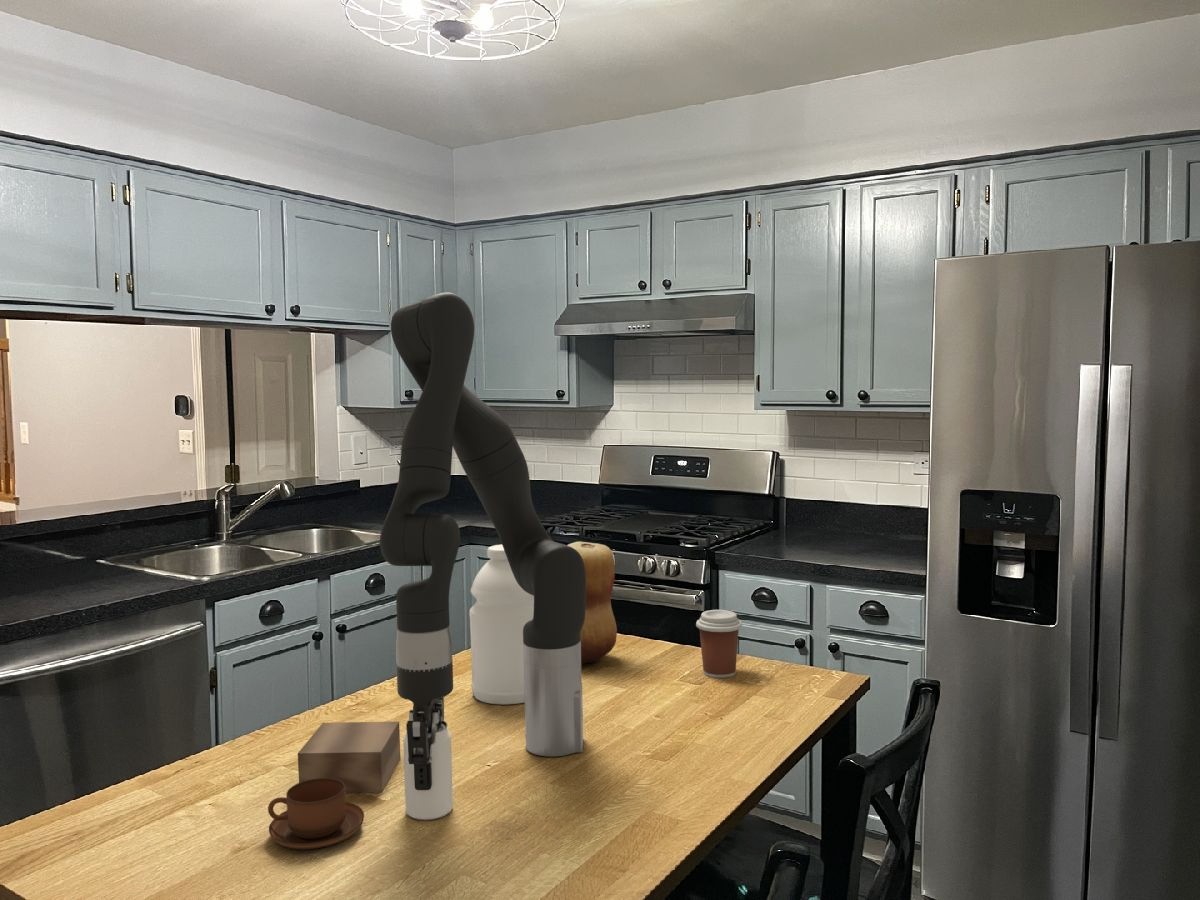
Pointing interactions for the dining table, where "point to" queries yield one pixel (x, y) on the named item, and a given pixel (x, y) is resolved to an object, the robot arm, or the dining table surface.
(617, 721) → the dining table surface
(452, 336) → the robot arm
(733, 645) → the coffee cup
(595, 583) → the butternut squash
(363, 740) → the walnut block
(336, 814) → the cup and saucer
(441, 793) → the can
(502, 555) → the bottle
